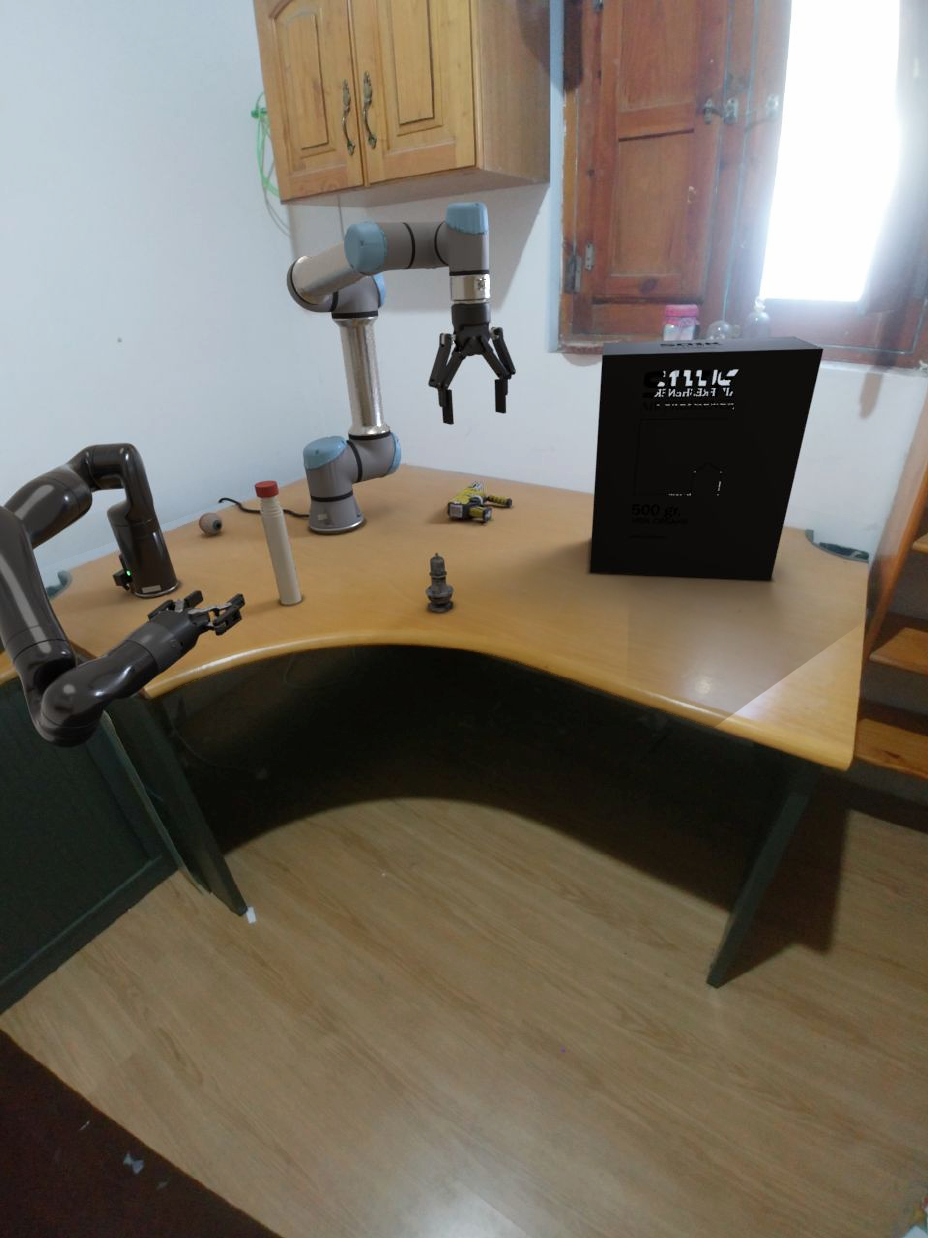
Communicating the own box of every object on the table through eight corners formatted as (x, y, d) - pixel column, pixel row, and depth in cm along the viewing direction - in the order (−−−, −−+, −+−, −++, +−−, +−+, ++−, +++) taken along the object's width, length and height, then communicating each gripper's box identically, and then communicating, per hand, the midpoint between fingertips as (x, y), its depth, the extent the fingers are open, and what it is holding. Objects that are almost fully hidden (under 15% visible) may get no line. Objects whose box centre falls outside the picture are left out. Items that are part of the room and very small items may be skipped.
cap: (264, 490, 122) (262, 480, 121) (283, 491, 121) (280, 480, 119) (252, 497, 118) (250, 486, 117) (271, 498, 117) (269, 487, 116)
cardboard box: (751, 542, 144) (793, 336, 122) (770, 580, 127) (823, 348, 105) (591, 537, 152) (603, 342, 130) (589, 572, 135) (602, 354, 112)
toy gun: (520, 486, 181) (473, 479, 185) (498, 510, 161) (445, 501, 165) (519, 501, 183) (472, 494, 187) (496, 526, 163) (445, 518, 167)
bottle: (287, 594, 134) (262, 481, 121) (305, 596, 132) (281, 482, 120) (277, 604, 130) (249, 488, 117) (295, 605, 129) (269, 489, 116)
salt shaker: (451, 613, 122) (447, 559, 116) (423, 611, 123) (418, 558, 117) (457, 599, 127) (454, 547, 121) (430, 598, 128) (425, 546, 122)
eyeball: (212, 539, 164) (206, 518, 161) (197, 535, 167) (191, 515, 164) (230, 531, 169) (224, 511, 166) (215, 528, 172) (210, 508, 169)
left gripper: (128, 660, 96) (193, 611, 110) (203, 669, 93) (261, 618, 106) (112, 619, 93) (181, 574, 106) (190, 627, 89) (251, 580, 103)
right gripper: (426, 307, 105) (435, 431, 116) (533, 297, 117) (532, 410, 128) (403, 306, 110) (414, 425, 121) (508, 297, 123) (509, 405, 133)
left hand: (221, 596), depth 106 cm, fingers open, 8 cm apart
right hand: (475, 417), depth 124 cm, fingers open, 13 cm apart
